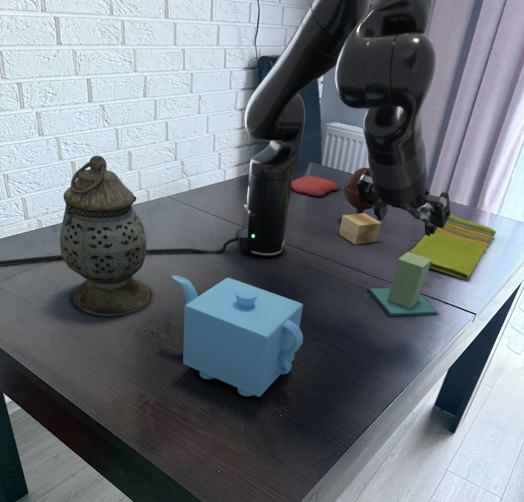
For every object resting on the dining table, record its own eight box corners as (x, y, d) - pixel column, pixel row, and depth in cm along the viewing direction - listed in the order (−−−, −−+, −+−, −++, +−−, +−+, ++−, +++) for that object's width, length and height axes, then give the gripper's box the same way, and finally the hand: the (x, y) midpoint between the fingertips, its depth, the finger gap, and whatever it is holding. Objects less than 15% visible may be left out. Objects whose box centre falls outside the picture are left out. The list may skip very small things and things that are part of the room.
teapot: (307, 374, 79) (323, 297, 71) (275, 414, 71) (288, 331, 63) (192, 328, 87) (194, 253, 79) (150, 358, 78) (148, 278, 71)
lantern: (150, 316, 88) (146, 171, 74) (63, 318, 85) (42, 166, 71) (148, 279, 100) (145, 146, 85) (72, 279, 96) (55, 141, 82)
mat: (390, 316, 98) (391, 313, 97) (369, 291, 106) (370, 288, 105) (435, 314, 100) (436, 311, 100) (412, 290, 108) (413, 287, 108)
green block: (386, 300, 102) (398, 258, 97) (396, 291, 105) (407, 251, 100) (410, 308, 100) (423, 267, 95) (419, 300, 103) (432, 259, 98)
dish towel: (494, 237, 141) (498, 226, 139) (468, 282, 114) (473, 268, 113) (439, 222, 146) (443, 211, 145) (403, 261, 120) (406, 249, 118)
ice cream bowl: (380, 232, 134) (394, 175, 126) (339, 228, 134) (350, 170, 126) (374, 218, 143) (387, 164, 135) (335, 214, 143) (345, 159, 134)
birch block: (355, 244, 126) (359, 225, 123) (338, 233, 131) (342, 215, 128) (377, 241, 129) (381, 223, 126) (360, 231, 134) (364, 213, 131)
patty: (317, 199, 152) (318, 192, 151) (279, 187, 158) (280, 181, 157) (344, 188, 165) (345, 182, 164) (308, 177, 171) (309, 171, 169)
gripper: (459, 153, 68) (457, 216, 82) (364, 130, 74) (377, 193, 88) (434, 201, 67) (436, 256, 81) (339, 173, 73) (357, 229, 87)
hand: (405, 223), depth 85 cm, fingers open, 8 cm apart
